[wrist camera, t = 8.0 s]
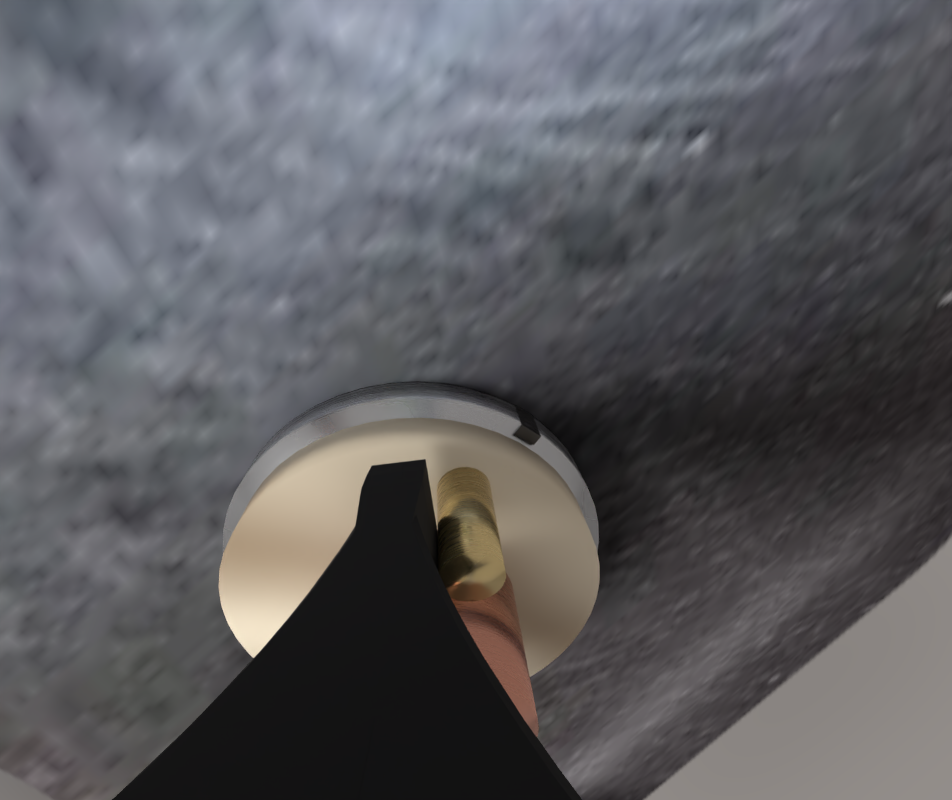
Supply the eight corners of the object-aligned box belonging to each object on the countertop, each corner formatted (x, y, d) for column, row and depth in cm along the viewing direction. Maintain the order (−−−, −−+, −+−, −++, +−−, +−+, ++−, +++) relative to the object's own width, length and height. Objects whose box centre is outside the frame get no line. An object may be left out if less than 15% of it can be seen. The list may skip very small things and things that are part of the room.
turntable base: (584, 626, 17) (592, 653, 16) (292, 665, 16) (284, 695, 15) (594, 361, 12) (608, 377, 11) (178, 406, 11) (156, 428, 10)
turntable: (513, 686, 16) (534, 822, 13) (220, 649, 14) (154, 801, 11) (646, 469, 12) (726, 584, 9) (264, 370, 10) (180, 474, 7)
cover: (486, 659, 13) (502, 803, 10) (345, 642, 12) (318, 794, 9) (535, 560, 12) (571, 698, 9) (377, 533, 11) (355, 676, 8)
